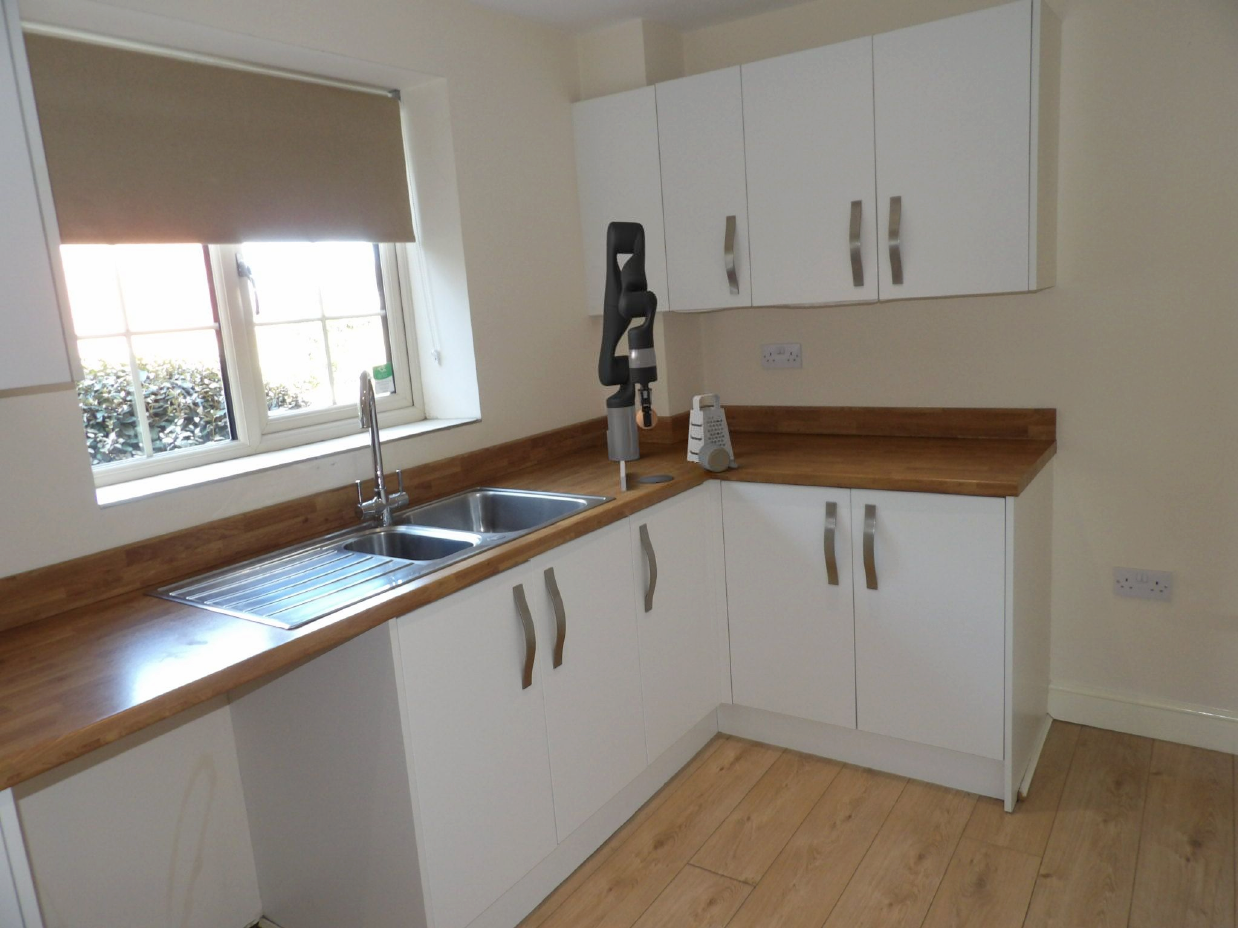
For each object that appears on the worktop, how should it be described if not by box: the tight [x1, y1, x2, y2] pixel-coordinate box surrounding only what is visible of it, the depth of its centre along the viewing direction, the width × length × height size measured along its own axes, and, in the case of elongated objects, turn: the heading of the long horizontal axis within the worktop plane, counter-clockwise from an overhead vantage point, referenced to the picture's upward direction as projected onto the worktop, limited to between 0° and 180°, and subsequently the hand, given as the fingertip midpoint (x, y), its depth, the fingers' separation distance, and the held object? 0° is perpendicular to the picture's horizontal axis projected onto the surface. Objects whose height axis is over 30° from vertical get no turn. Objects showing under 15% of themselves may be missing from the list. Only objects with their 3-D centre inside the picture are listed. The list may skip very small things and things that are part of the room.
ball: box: [636, 407, 659, 430], centre depth 250 cm, size 6×6×6 cm
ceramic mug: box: [698, 443, 739, 473], centre depth 259 cm, size 11×8×8 cm
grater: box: [686, 393, 735, 463], centre depth 275 cm, size 10×10×20 cm
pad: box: [637, 474, 674, 484], centre depth 253 cm, size 10×10×1 cm
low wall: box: [619, 461, 627, 492], centre depth 253 cm, size 24×1×4 cm, turn 0°
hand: (647, 425), depth 250 cm, fingers closed on ball, 6 cm apart
